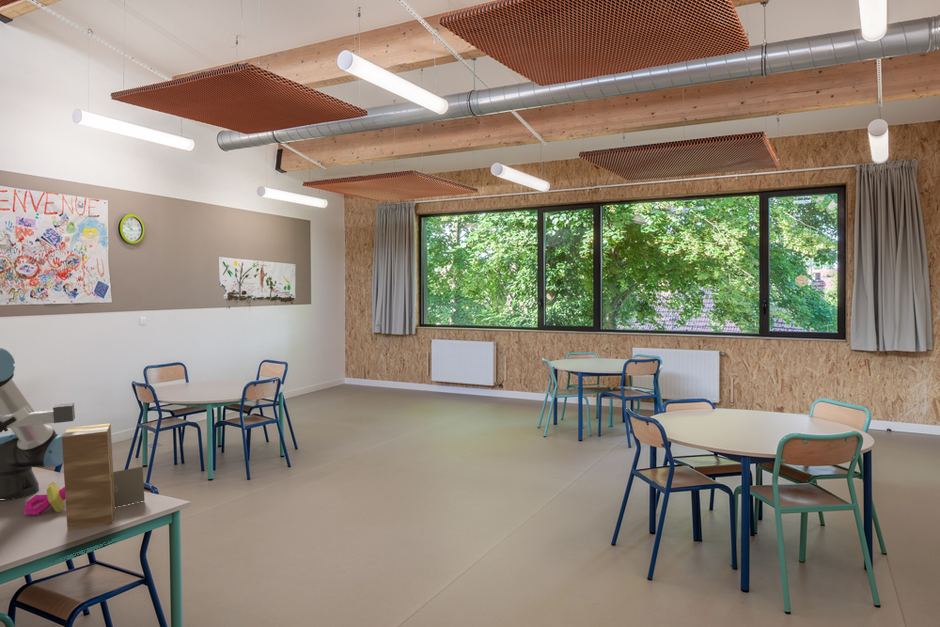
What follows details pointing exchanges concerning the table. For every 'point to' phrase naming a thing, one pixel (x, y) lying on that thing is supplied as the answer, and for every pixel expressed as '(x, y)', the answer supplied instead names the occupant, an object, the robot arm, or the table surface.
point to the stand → (88, 476)
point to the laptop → (128, 486)
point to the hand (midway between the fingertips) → (28, 410)
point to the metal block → (46, 416)
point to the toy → (46, 501)
